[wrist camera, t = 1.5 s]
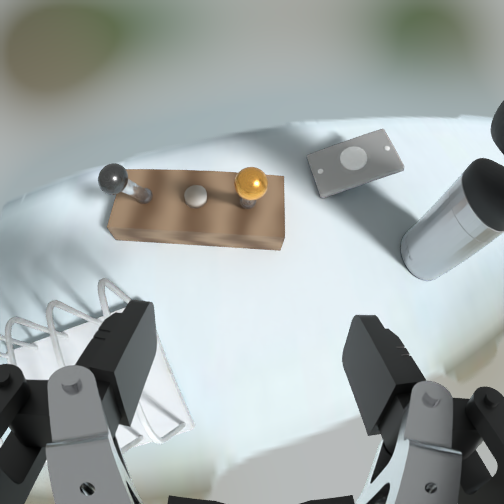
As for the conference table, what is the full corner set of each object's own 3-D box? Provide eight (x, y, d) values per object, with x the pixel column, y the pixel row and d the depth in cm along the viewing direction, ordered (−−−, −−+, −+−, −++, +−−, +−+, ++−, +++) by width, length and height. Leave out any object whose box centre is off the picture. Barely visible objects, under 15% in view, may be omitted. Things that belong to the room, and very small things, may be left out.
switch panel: (280, 189, 47) (285, 169, 42) (280, 250, 43) (286, 233, 38) (131, 182, 46) (123, 162, 41) (116, 240, 42) (104, 222, 37)
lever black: (159, 186, 40) (123, 159, 27) (156, 208, 40) (119, 192, 27) (137, 185, 40) (95, 160, 26) (135, 208, 40) (91, 191, 26)
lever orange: (260, 191, 41) (270, 164, 27) (258, 214, 41) (268, 198, 27) (236, 189, 41) (235, 162, 27) (234, 212, 41) (232, 196, 27)
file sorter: (147, 303, 39) (104, 257, 25) (197, 426, 33) (175, 455, 19) (11, 353, 33) (-59, 332, 19) (45, 463, 27) (-22, 481, 13)
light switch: (304, 152, 49) (383, 124, 44) (313, 170, 54) (385, 144, 49) (318, 193, 46) (404, 163, 41) (326, 209, 51) (404, 182, 46)
